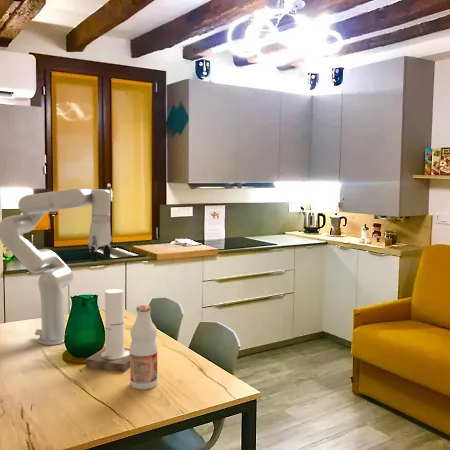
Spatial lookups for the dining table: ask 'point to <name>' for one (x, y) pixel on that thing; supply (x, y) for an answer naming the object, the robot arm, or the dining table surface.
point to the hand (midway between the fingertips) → (100, 259)
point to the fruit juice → (143, 351)
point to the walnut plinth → (109, 361)
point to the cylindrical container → (114, 322)
